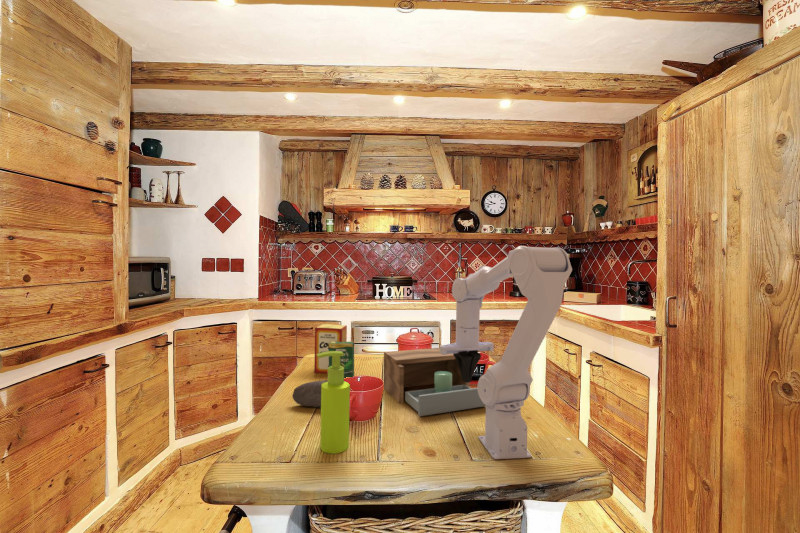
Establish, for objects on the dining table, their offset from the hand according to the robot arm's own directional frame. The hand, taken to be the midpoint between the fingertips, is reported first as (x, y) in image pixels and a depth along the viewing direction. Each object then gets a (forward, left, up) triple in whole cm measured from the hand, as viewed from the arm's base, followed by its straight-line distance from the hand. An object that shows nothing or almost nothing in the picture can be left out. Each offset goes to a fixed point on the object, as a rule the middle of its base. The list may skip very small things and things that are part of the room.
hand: (466, 381), depth 96 cm
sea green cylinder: (+10, +3, -8) cm, 14 cm away
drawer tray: (+11, +3, -10) cm, 15 cm away
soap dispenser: (-11, +32, -10) cm, 35 cm away
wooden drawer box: (+21, +6, -10) cm, 24 cm away
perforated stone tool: (+12, +36, -10) cm, 40 cm away
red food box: (+45, +35, -10) cm, 58 cm away
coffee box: (+31, +31, -10) cm, 45 cm away
